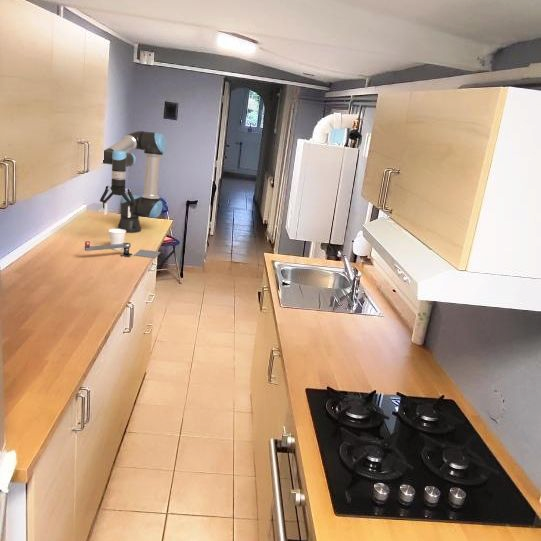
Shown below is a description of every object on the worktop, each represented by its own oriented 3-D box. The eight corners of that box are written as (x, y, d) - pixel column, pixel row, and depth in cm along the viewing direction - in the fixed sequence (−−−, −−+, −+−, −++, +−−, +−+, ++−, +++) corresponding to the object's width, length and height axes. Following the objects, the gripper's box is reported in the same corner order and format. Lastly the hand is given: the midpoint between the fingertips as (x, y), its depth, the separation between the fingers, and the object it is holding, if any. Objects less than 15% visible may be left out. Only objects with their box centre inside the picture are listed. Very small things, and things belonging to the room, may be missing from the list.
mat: (140, 250, 321) (140, 249, 321) (160, 252, 320) (160, 251, 320) (134, 255, 309) (134, 254, 309) (154, 258, 309) (155, 257, 309)
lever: (83, 249, 293) (83, 240, 292) (128, 245, 309) (128, 237, 308) (86, 251, 290) (86, 242, 288) (131, 247, 306) (132, 239, 305)
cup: (123, 252, 314) (123, 233, 310) (105, 250, 314) (106, 231, 310) (127, 247, 323) (128, 229, 320) (111, 246, 323) (111, 227, 320)
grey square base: (123, 253, 310) (123, 245, 309) (132, 254, 310) (132, 246, 309) (120, 256, 306) (120, 247, 304) (129, 257, 305) (129, 249, 304)
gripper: (94, 176, 303) (93, 214, 309) (138, 182, 302) (137, 219, 308) (99, 175, 310) (98, 212, 316) (142, 180, 309) (140, 217, 315)
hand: (117, 215), depth 312 cm, fingers open, 13 cm apart
